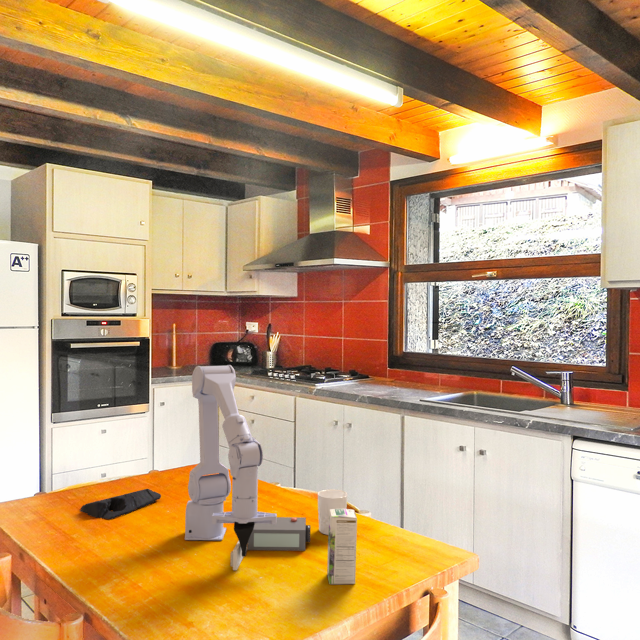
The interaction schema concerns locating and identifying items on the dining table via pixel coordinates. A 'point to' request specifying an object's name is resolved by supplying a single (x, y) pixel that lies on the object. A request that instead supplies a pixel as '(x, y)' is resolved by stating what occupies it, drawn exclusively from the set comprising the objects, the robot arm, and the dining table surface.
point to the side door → (236, 556)
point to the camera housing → (280, 535)
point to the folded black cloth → (120, 504)
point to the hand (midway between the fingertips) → (244, 554)
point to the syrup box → (342, 546)
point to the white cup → (329, 506)
